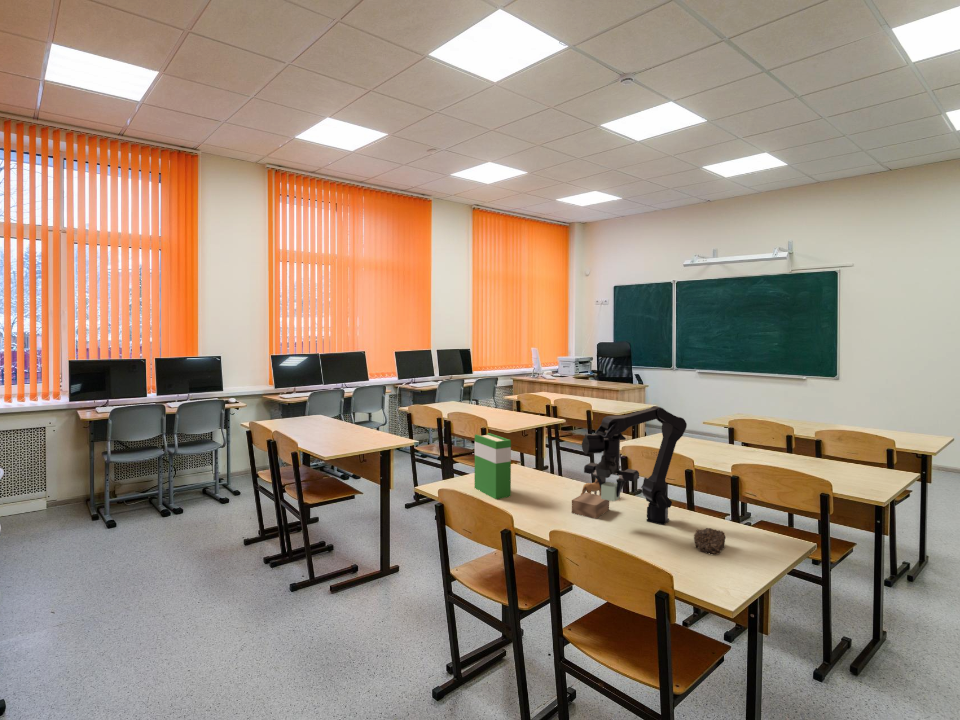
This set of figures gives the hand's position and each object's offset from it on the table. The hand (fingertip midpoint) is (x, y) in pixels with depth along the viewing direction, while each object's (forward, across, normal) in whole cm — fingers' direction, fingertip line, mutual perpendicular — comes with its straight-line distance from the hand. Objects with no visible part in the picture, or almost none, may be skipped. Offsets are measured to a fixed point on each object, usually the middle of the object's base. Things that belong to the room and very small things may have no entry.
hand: (610, 495), depth 186 cm
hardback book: (+11, -56, +5) cm, 58 cm away
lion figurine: (+11, -19, +25) cm, 33 cm away
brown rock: (+11, +33, +2) cm, 35 cm away
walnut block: (+11, -12, +9) cm, 19 cm away
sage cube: (+1, 0, 0) cm, 1 cm away
